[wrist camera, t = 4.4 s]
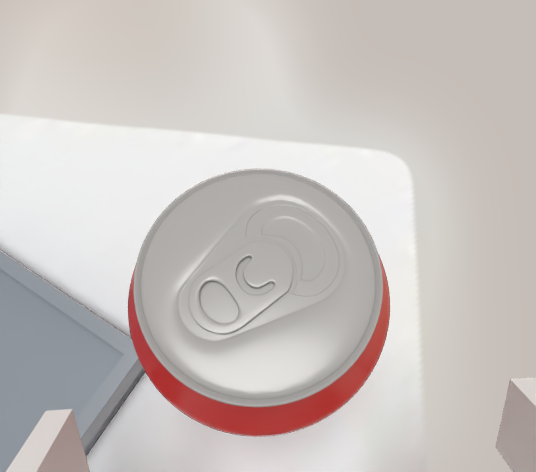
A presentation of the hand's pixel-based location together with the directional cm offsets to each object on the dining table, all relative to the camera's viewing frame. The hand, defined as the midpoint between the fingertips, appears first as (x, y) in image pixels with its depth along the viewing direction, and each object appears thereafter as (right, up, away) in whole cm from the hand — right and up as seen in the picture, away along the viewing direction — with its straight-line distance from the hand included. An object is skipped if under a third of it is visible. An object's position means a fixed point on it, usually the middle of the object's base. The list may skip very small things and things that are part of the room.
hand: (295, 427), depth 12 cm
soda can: (-1, -1, +12) cm, 12 cm away
